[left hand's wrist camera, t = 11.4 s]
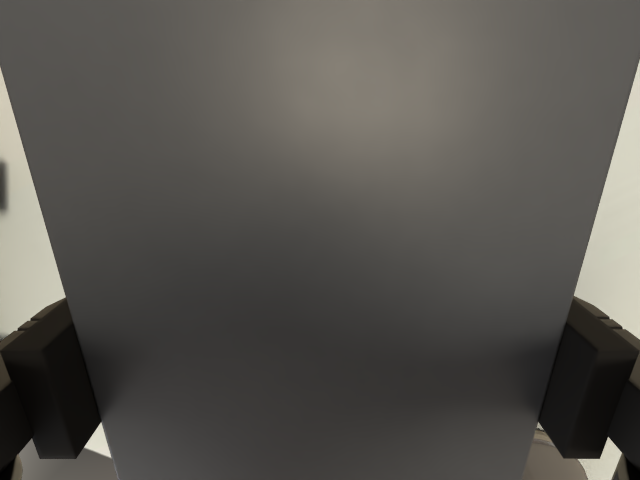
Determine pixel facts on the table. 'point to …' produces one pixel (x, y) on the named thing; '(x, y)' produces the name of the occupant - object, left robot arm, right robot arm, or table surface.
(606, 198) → the table surface
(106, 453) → the table surface
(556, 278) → the thick board
